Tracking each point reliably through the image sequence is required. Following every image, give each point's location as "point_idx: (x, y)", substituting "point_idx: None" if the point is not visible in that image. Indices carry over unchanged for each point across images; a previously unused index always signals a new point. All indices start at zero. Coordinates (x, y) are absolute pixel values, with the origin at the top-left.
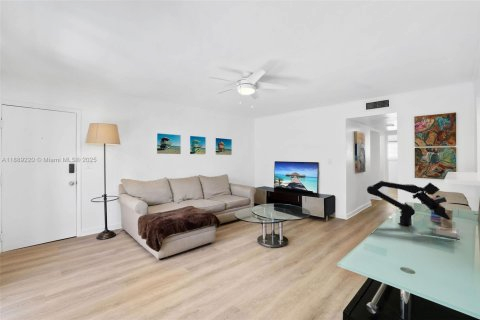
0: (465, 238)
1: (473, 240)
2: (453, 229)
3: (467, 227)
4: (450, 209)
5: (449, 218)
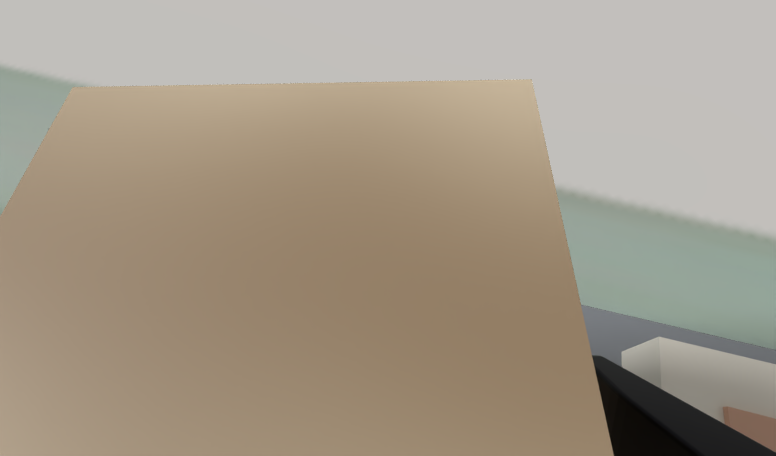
0: (693, 287)
1: (715, 230)
2: (688, 381)
3: None
4: (282, 114)
5: (617, 379)
